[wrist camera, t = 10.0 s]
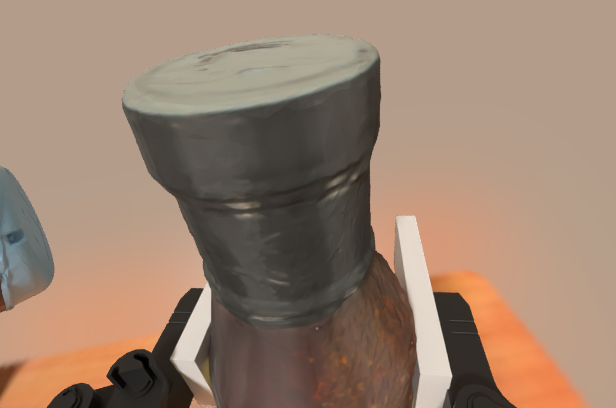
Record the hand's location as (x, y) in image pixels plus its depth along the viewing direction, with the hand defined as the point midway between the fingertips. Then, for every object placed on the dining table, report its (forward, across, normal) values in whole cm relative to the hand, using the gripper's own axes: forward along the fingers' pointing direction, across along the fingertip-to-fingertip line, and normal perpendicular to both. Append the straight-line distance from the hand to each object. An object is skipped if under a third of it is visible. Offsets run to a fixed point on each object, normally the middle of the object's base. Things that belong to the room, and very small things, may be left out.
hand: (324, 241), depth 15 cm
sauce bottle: (-5, 0, -11) cm, 12 cm away
